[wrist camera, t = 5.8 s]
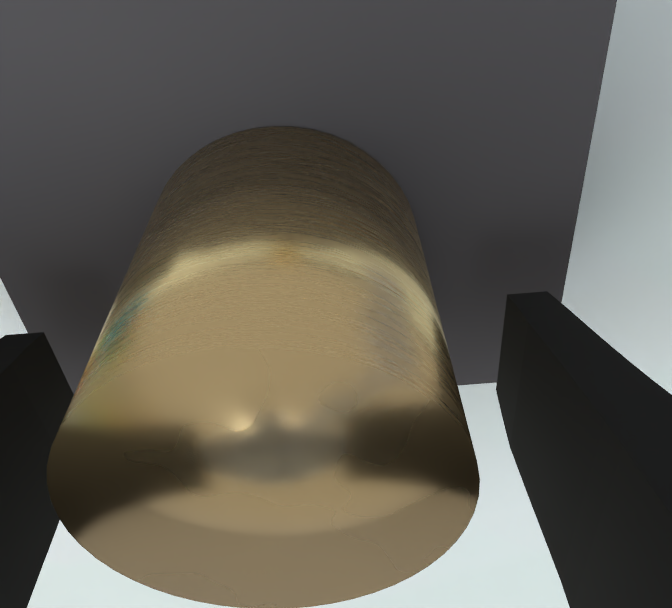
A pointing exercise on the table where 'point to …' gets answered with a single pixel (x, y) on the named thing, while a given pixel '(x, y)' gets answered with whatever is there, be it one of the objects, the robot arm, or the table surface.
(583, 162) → the scale pan
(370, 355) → the cylinder
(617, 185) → the table surface
